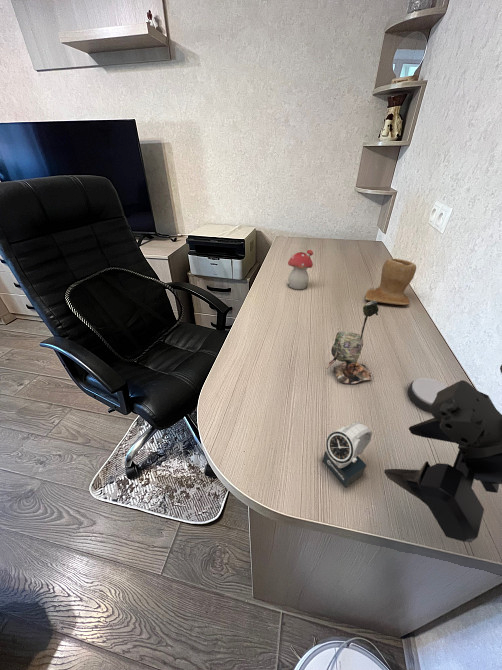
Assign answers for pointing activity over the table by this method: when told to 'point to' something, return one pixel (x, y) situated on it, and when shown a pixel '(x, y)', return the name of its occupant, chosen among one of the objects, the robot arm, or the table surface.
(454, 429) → the robot arm
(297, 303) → the table surface
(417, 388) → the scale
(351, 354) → the plant with pod
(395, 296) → the brown suede boot
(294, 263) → the decorative ornament
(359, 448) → the watch
